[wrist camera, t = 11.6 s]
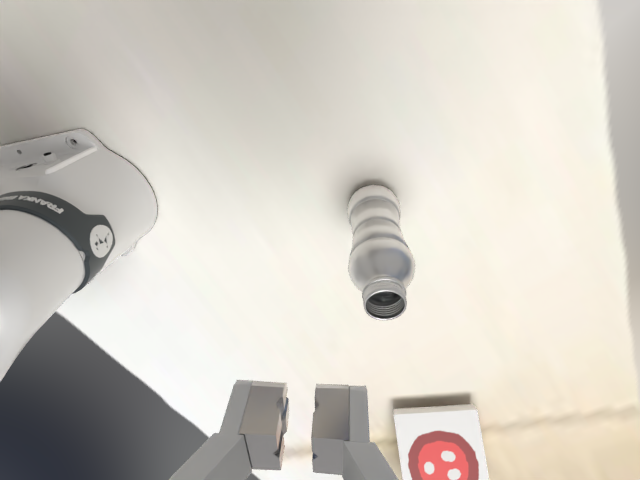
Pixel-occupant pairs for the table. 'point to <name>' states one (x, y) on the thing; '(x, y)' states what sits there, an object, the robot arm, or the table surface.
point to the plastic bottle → (379, 252)
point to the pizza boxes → (440, 443)
